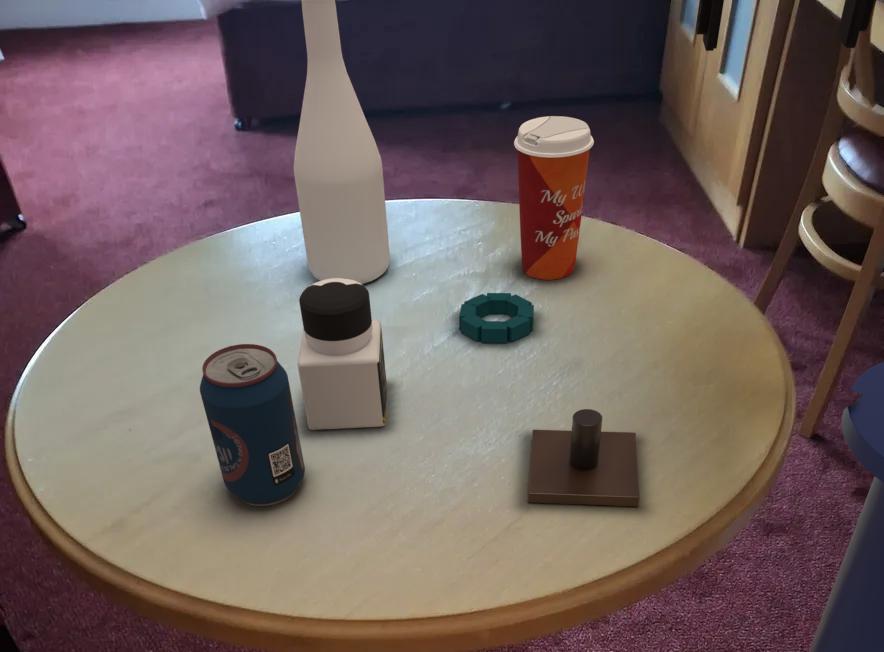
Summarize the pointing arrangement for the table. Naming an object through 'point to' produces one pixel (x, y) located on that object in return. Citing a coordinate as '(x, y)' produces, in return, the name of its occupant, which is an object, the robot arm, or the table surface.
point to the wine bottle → (337, 163)
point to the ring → (496, 329)
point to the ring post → (584, 464)
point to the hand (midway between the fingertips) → (776, 44)
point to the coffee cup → (551, 192)
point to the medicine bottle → (341, 357)
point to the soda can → (252, 423)
